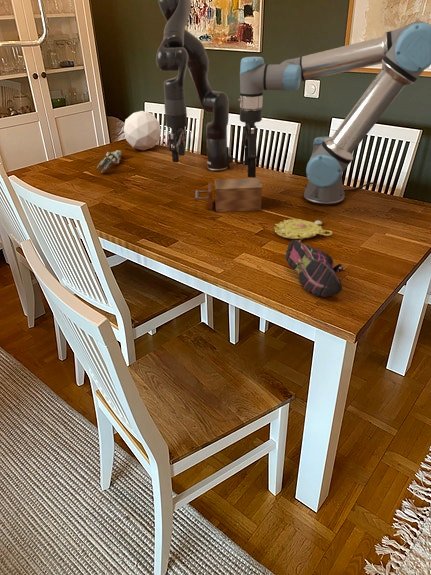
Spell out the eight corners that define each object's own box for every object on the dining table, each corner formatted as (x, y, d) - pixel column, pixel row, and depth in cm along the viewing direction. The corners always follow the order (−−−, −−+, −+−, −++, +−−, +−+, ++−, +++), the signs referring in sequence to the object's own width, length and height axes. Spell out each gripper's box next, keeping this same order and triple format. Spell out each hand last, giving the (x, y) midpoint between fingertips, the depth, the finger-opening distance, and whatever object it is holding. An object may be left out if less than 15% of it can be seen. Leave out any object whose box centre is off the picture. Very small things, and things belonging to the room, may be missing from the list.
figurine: (101, 154, 197) (119, 141, 223) (91, 167, 200) (110, 152, 227) (114, 165, 199) (130, 151, 225) (103, 178, 203) (121, 162, 229)
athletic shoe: (328, 286, 106) (368, 278, 110) (289, 224, 118) (325, 219, 122) (312, 314, 115) (349, 305, 119) (276, 254, 127) (311, 248, 131)
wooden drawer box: (216, 212, 163) (215, 188, 158) (215, 201, 172) (214, 179, 167) (261, 210, 163) (261, 187, 158) (258, 200, 172) (258, 177, 167)
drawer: (195, 209, 163) (194, 191, 159) (195, 200, 170) (194, 183, 167) (250, 207, 163) (250, 189, 159) (248, 198, 171) (248, 181, 167)
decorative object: (286, 211, 157) (342, 219, 147) (286, 217, 158) (341, 226, 148) (260, 233, 142) (319, 243, 133) (260, 240, 144) (319, 251, 134)
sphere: (136, 161, 242) (117, 128, 240) (167, 143, 245) (148, 111, 242) (135, 152, 224) (114, 116, 221) (169, 133, 226) (148, 97, 223)
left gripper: (171, 108, 161) (174, 153, 169) (159, 116, 149) (163, 164, 157) (191, 108, 159) (193, 153, 168) (181, 116, 148) (183, 164, 156)
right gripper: (237, 102, 159) (236, 160, 171) (242, 116, 138) (242, 182, 150) (258, 101, 159) (256, 160, 171) (266, 116, 138) (264, 182, 150)
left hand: (178, 158), depth 163 cm, fingers open, 8 cm apart
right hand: (249, 170), depth 160 cm, fingers open, 13 cm apart
